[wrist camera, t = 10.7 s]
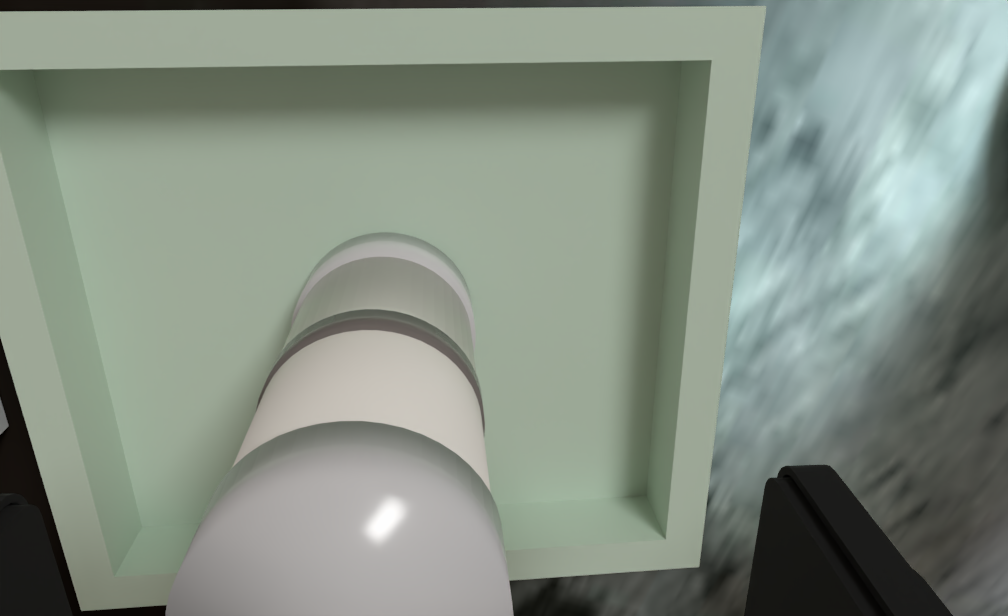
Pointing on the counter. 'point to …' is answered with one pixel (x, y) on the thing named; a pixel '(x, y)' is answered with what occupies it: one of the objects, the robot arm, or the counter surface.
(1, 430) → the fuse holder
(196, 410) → the parts tray
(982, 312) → the counter surface
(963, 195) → the counter surface
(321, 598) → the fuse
